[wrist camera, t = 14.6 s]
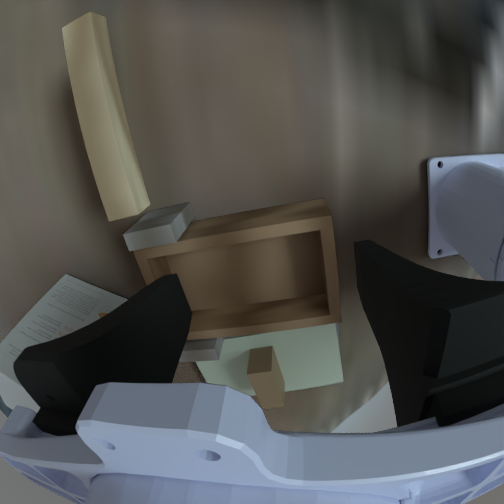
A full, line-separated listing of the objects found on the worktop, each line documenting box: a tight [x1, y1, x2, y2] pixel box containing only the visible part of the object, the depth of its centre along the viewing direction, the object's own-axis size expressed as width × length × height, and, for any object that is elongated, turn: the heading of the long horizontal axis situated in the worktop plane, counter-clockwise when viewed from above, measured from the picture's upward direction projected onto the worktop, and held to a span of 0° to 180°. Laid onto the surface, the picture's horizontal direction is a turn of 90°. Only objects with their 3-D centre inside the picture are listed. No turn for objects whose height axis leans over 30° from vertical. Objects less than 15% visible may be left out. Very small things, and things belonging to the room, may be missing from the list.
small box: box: [0, 274, 128, 413], centre depth 22 cm, size 8×6×13 cm
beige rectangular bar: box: [62, 12, 150, 222], centre depth 14 cm, size 2×12×2 cm, turn 12°
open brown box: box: [123, 198, 342, 362], centre depth 22 cm, size 13×11×4 cm
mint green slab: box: [196, 323, 343, 409], centre depth 26 cm, size 13×8×4 cm, turn 106°
